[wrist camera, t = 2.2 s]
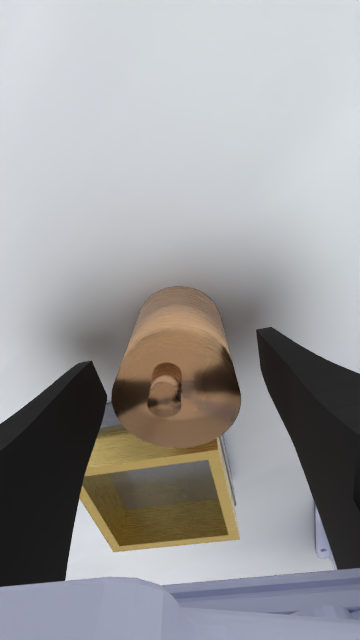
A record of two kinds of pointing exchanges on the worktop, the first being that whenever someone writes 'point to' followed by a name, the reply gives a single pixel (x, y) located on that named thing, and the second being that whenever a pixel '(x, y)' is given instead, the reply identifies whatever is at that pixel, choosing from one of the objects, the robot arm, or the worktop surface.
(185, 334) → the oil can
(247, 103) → the worktop surface
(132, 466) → the square open tray
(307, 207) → the worktop surface
